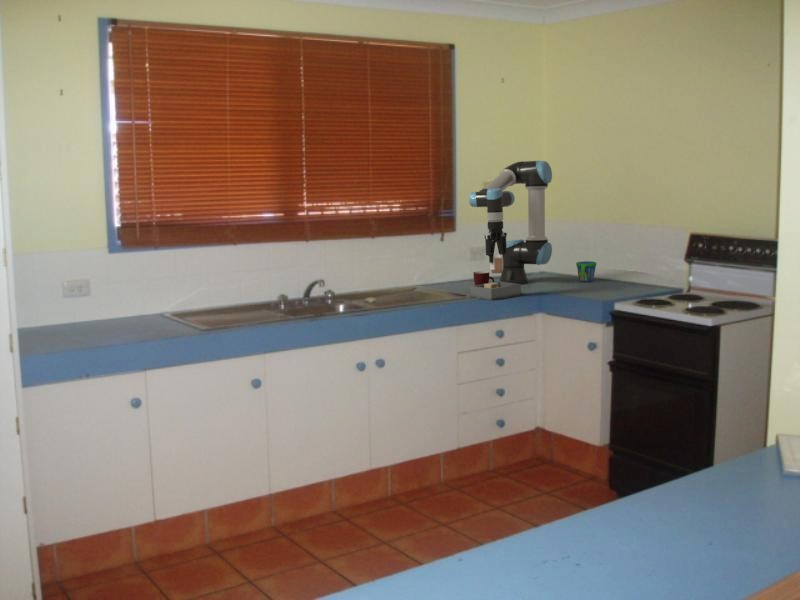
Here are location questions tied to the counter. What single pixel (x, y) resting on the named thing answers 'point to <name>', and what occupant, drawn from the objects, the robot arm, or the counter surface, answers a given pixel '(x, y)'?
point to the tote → (496, 291)
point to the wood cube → (491, 285)
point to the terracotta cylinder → (498, 265)
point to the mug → (482, 277)
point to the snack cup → (586, 271)
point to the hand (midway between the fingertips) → (496, 268)
